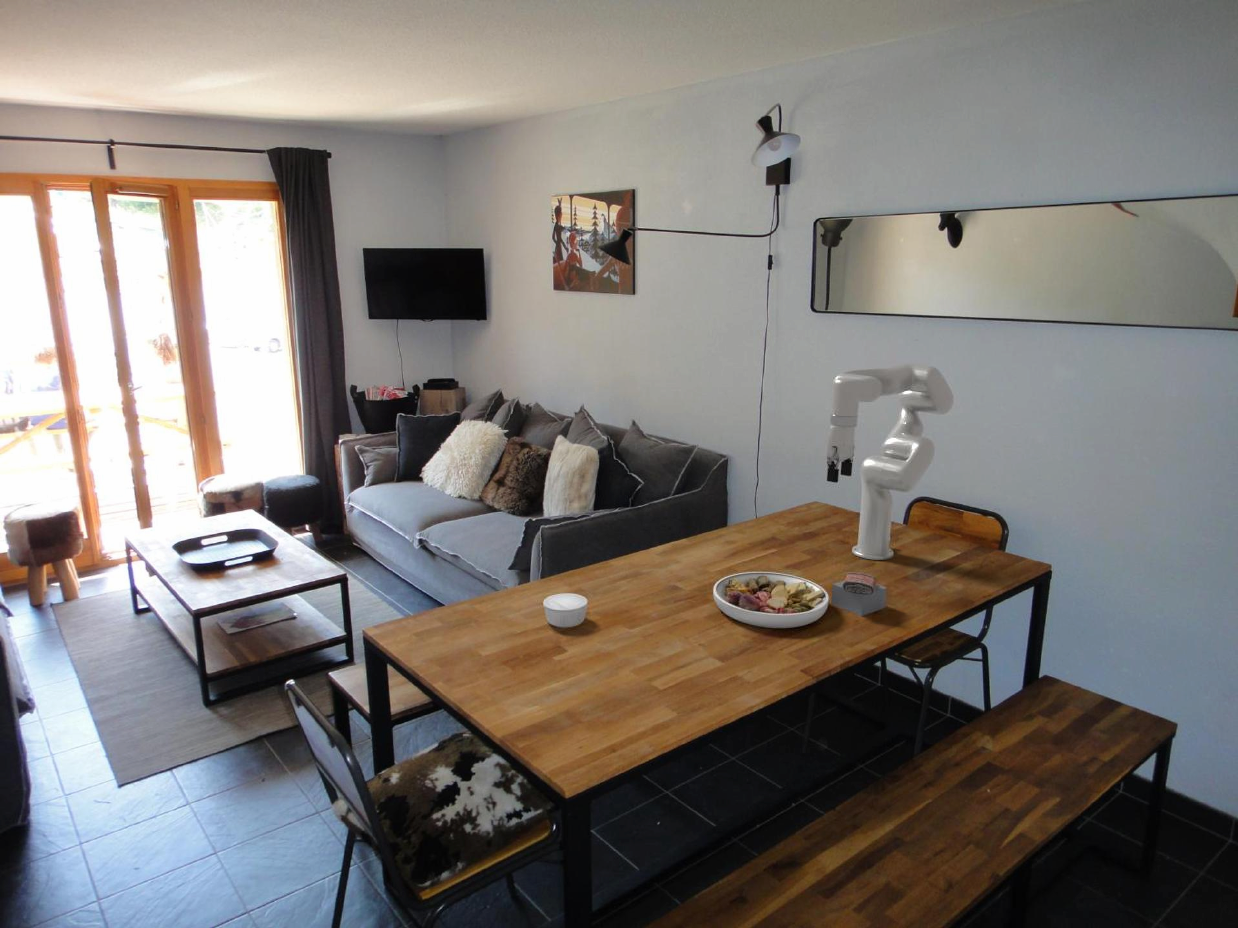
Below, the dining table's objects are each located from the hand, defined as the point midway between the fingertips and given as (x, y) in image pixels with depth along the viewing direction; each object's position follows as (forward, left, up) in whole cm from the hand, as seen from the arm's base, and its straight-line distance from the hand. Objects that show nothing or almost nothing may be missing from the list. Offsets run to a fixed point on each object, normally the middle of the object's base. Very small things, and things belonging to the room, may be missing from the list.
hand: (839, 478), depth 245 cm
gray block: (+21, +17, -29) cm, 39 cm away
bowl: (+38, -1, -29) cm, 48 cm away
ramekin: (+78, -38, -29) cm, 91 cm away
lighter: (+28, +19, -21) cm, 39 cm away
